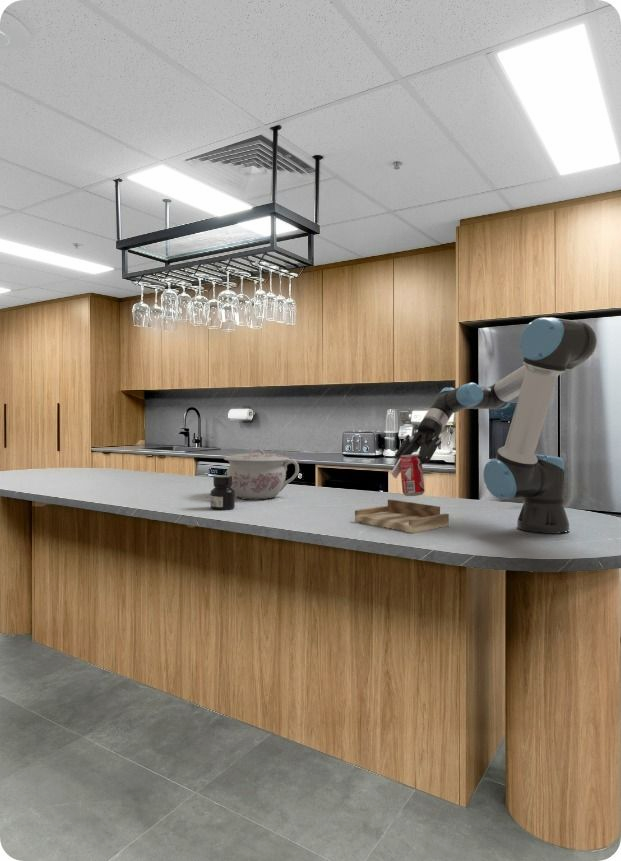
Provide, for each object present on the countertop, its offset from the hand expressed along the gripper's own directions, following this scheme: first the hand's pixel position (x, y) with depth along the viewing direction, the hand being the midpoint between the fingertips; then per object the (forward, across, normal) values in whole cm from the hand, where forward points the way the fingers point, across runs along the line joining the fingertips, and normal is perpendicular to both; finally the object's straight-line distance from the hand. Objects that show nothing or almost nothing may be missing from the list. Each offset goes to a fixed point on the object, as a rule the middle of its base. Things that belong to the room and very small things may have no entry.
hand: (400, 476), depth 192 cm
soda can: (+1, -2, -8) cm, 8 cm away
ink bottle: (+31, +62, +8) cm, 69 cm away
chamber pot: (+12, +77, -11) cm, 78 cm away
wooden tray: (+11, 0, -11) cm, 15 cm away
